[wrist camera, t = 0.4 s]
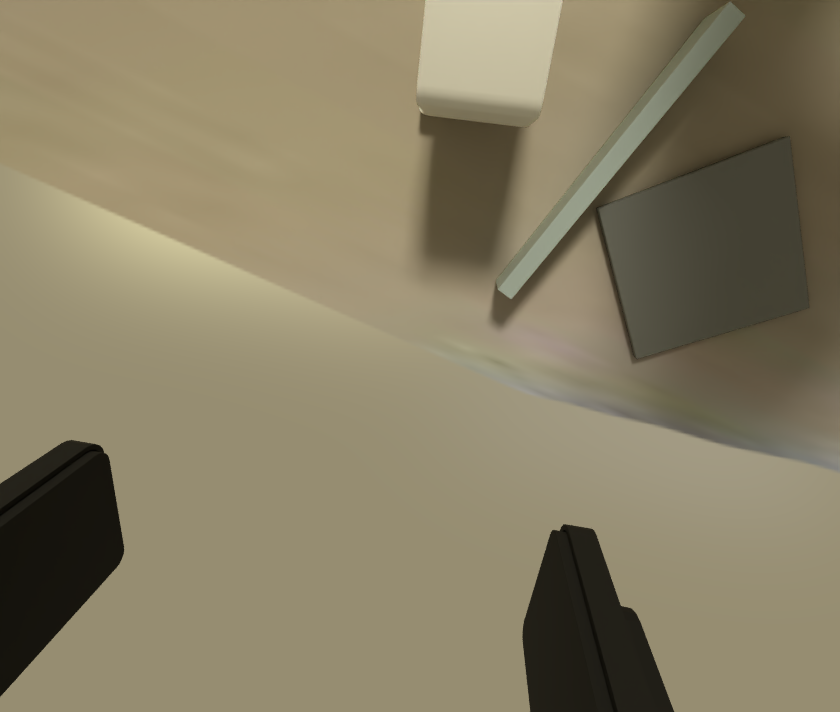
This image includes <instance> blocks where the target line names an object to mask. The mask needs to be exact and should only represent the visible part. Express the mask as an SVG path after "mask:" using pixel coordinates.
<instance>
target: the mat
mask: <svg viewBox="0 0 840 712" xmlns="http://www.w3.org/2000/svg"><path fill="white" fill-rule="evenodd" d="M596 209H597V212H598V216H599V220H600V224H601V228H602V232H603V236H604V240H605V244H606V248H607V252H608V256H609V259H610V263H611V267H612V271H613V275H614V279H615V283H616V287H617V291H618V295H619V299H620V303H621V306H622V310H623V314H624V318H625V322H626V326H627V330H628V334H629V338H630V342H631V346H632V349H633V353H634V357H635V358H636V359H639V358H642V357H646V356H649V355H652V354H656V353H659V352H662V351H666V350H669V349H673V348H676V347H679V346H683V345H686V344H689V343H693V342H696V341H700V340H703V339H706V338H710V337H713V336H716V335H720V334H723V333H727V332H730V331H733V330H737V329H740V328H743V327H747V326H750V325H753V324H757V323H760V322H764V321H767V320H770V319H774V318H777V317H780V316H784V315H787V314H791V313H794V312H797V311H801V310H804V309H807V308H809V299H808V290H807V282H806V273H805V264H804V255H803V246H802V238H801V229H800V220H799V211H798V203H797V194H796V185H795V176H794V168H793V159H792V150H791V141H790V136H789V137H783V138H780V139H778V140H775V141H772V142H770V143H767V144H764V145H762V146H759V147H756V148H754V149H751V150H748V151H746V152H743V153H741V154H738V155H735V156H733V157H730V158H727V159H725V160H722V161H719V162H717V163H714V164H711V165H709V166H706V167H703V168H701V169H698V170H696V171H693V172H690V173H688V174H685V175H682V176H680V177H677V178H674V179H672V180H669V181H666V182H664V183H661V184H659V185H656V186H653V187H651V188H648V189H645V190H643V191H640V192H637V193H635V194H632V195H629V196H627V197H624V198H622V199H619V200H616V201H614V202H611V203H608V204H606V205H603V206H600V207H598V208H596Z"/></svg>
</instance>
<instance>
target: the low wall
mask: <svg viewBox="0 0 840 712" xmlns="http://www.w3.org/2000/svg"><path fill="white" fill-rule="evenodd" d="M744 17H745V15H744V14H743V13H742V12H741V11H740V10H739V9H738V8H737V7H736V6H735V5H734V4H733V3H732V2H728V3H727V4H725V5H724V6H722V7H721V8H719V9H717V10H716V11H714V12H713V13H711V14H710V15H708V16H707V17H705V18H704V19H703V21H702V22H701V23H700V24H699V26H698V27H697V28H696V29H695V31H694V32H693V33H692V34H691V36H690V37H689V38H688V39H687V41H686V42H685V43H684V44H683V46H682V47H681V48H680V49H679V51H678V52H677V53H676V54H675V56H674V57H673V58H672V59H671V61H670V62H669V63H668V65H667V66H666V67H665V68H664V70H663V71H662V72H661V73H660V75H659V76H658V77H657V78H656V80H655V81H654V82H653V83H652V85H651V86H650V87H649V88H648V90H647V91H646V92H645V93H644V95H643V96H642V97H641V98H640V100H639V101H638V102H637V103H636V105H635V106H634V107H633V108H632V110H631V111H630V112H629V114H628V115H627V116H626V117H625V119H624V120H623V121H622V122H621V124H620V125H619V126H618V127H617V129H616V130H615V131H614V132H613V134H612V135H611V136H610V137H609V139H608V140H607V141H606V142H605V144H604V145H603V146H602V147H601V149H600V150H599V151H598V152H597V154H596V155H595V156H594V157H593V159H592V160H591V161H590V163H589V164H588V165H587V166H586V168H585V169H584V170H583V171H582V173H581V174H580V175H579V176H578V178H577V179H576V180H575V181H574V183H573V184H572V185H571V186H570V188H569V189H568V190H567V191H566V193H565V194H564V195H563V196H562V198H561V199H560V200H559V201H558V203H557V204H556V205H555V206H554V208H553V209H552V210H551V212H550V213H549V214H548V215H547V217H546V218H545V219H544V220H543V222H542V223H541V224H540V225H539V227H538V228H537V229H536V230H535V232H534V233H533V234H532V235H531V237H530V238H529V239H528V240H527V242H526V243H525V244H524V245H523V247H522V248H521V249H520V250H519V252H518V253H517V254H516V255H515V257H514V258H513V259H512V261H511V262H510V263H509V264H508V266H507V267H506V268H505V269H504V271H503V272H502V273H501V274H500V276H499V277H498V278H497V279H496V283H497V288H498V290H499V291H501V292H502V293H503V294H505V295H506V296H507V297H509V298H510V299H512V298H513V297H514V295H515V294H516V293H517V292H518V291H519V289H520V288H521V287H522V286H523V285H524V283H525V282H526V281H527V280H528V279H529V277H530V276H531V275H532V274H533V272H534V271H535V270H536V269H537V268H538V266H539V265H540V264H541V263H542V262H543V260H544V259H545V258H546V257H547V256H548V254H549V253H550V252H551V251H552V250H553V248H554V247H555V246H556V245H557V243H558V242H559V241H560V240H561V239H562V237H563V236H564V235H565V234H566V233H567V231H568V230H569V229H570V228H571V227H572V225H573V224H574V223H575V222H576V221H577V219H578V218H579V217H580V216H581V214H582V213H583V212H584V211H585V210H586V208H587V207H588V206H589V205H590V204H591V202H592V201H593V200H594V199H595V198H596V196H597V195H598V194H599V193H600V191H601V190H602V189H603V188H604V187H605V185H606V184H607V183H608V182H609V181H610V179H611V178H612V177H613V176H614V175H615V173H616V172H617V171H618V170H619V169H620V167H621V166H622V165H623V164H624V162H625V161H626V160H627V159H628V158H629V156H630V155H631V154H632V153H633V152H634V150H635V149H636V148H637V147H638V146H639V144H640V143H641V142H642V141H643V140H644V138H645V137H646V136H647V135H648V133H649V132H650V131H651V130H652V129H653V127H654V126H655V125H656V124H657V123H658V121H659V120H660V119H661V118H662V117H663V115H664V114H665V113H666V112H667V111H668V109H669V108H670V107H671V106H672V104H673V103H674V102H675V101H676V100H677V98H678V97H679V96H680V95H681V94H682V92H683V91H684V90H685V89H686V88H687V86H688V85H689V84H690V83H691V81H692V80H693V79H694V78H695V77H696V75H697V74H698V73H699V72H700V71H701V69H702V68H703V67H704V66H705V65H706V63H707V62H708V61H709V60H710V59H711V57H712V56H713V55H714V54H715V52H716V51H717V50H718V49H719V48H720V46H721V45H722V44H723V43H724V42H725V40H726V39H727V38H728V37H729V36H730V34H731V33H732V32H733V31H734V30H735V28H736V27H737V26H738V25H739V23H740V22H741V21H742V20H743V19H744Z"/></svg>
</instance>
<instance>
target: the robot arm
mask: <svg viewBox="0 0 840 712" xmlns="http://www.w3.org/2000/svg"><path fill="white" fill-rule="evenodd" d="M123 554H124V544H123V538H122V532H121V526H120V521H119V514H118V509H117V502H116V497H115V490H114V484H113V478H112V472H111V467H110V461H109V457H108V455H107V454H105V453H104V451H103V448H102V447H101V446H99V445H96V444H91V443H85V442H79V441H74V440H70V441H66V442H64V443H61V444H60V445H58V446H57V447H55V448H54V449H52V450H51V451H49V452H48V453H46V454H45V455H43V456H42V457H40V458H39V459H37V460H36V461H34V462H33V463H31V464H30V465H28V466H26V467H25V468H23V469H22V470H20V471H19V472H18V473H16V474H14V475H13V476H11V477H10V478H8V479H7V480H5V481H4V482H2V483H1V484H0V696H1V695H2V694H3V693H4V692H5V691H6V690H7V689H8V688H9V686H10V685H11V684H12V683H13V682H14V681H15V680H16V679H17V678H18V676H19V675H20V674H21V673H22V672H23V671H24V670H25V669H26V668H27V666H28V665H29V664H30V663H31V662H32V661H33V660H34V659H35V657H36V656H37V655H38V654H39V653H40V652H41V651H42V650H43V649H44V648H45V646H46V645H47V644H48V643H49V642H50V641H51V640H52V639H53V638H54V636H55V635H56V634H57V633H58V632H59V631H60V630H61V629H62V628H63V626H64V625H65V624H66V623H67V622H68V621H69V620H70V619H71V618H72V616H73V615H74V614H75V613H76V612H77V611H78V610H79V609H80V608H81V606H82V605H83V604H84V603H85V602H86V601H87V600H88V599H89V598H90V596H91V595H92V594H93V593H94V592H95V591H96V590H97V589H98V587H99V586H100V585H101V584H102V583H103V582H104V581H105V580H106V578H107V577H108V576H109V575H110V574H111V573H112V572H113V571H114V570H115V569H116V567H117V566H118V565H119V563H120V561H121V559H122V557H123ZM523 648H524V657H525V666H526V675H527V685H528V693H529V703H530V712H674V710H673V708H672V705H671V702H670V700H669V697H668V694H667V692H666V689H665V687H664V684H663V681H662V678H661V676H660V673H659V670H658V668H657V665H656V662H655V660H654V657H653V654H652V652H651V649H650V647H649V644H648V641H647V639H646V636H645V633H644V631H643V628H642V625H641V623H640V621H639V619H638V616H637V614H636V613H635V612H634V611H633V610H632V609H631V608H628V607H622V606H621V605H620V602H619V600H618V597H617V594H616V591H615V588H614V585H613V582H612V579H611V577H610V573H609V570H608V568H607V565H606V562H605V559H604V556H603V553H602V550H601V548H600V544H599V541H598V539H597V536H596V534H595V532H594V530H593V529H589V528H584V527H578V526H572V525H566V524H565V525H563V526H562V527H561V529H560V531H556V530H552V532H551V534H550V537H549V540H548V544H547V547H546V551H545V554H544V557H543V560H542V564H541V567H540V570H539V574H538V577H537V580H536V584H535V587H534V590H533V593H532V597H531V600H530V604H529V607H528V610H527V613H526V617H525V620H524V625H523Z"/></svg>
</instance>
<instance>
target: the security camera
mask: <svg viewBox="0 0 840 712" xmlns="http://www.w3.org/2000/svg"><path fill="white" fill-rule="evenodd" d="M562 3H563V0H425V9H424V19H423V29H422V39H421V49H420V59H419V69H418V79H417V91H416V101H417V105H418V106H419V110H420V111H421V112H422V114H424V115H427V116H435V117H443V118H451V119H459V120H468V121H476V122H484V123H492V124H500V125H509V126H517V127H525V128H527V127H528V126H530V125H531V124H532V123H533V122H535V121H536V120H537V119H538V118H539V116H540V112H541V109H542V105H543V100H544V95H545V90H546V85H547V80H548V75H549V70H550V65H551V59H552V54H553V49H554V44H555V39H556V34H557V29H558V24H559V19H560V13H561V8H562Z"/></svg>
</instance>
